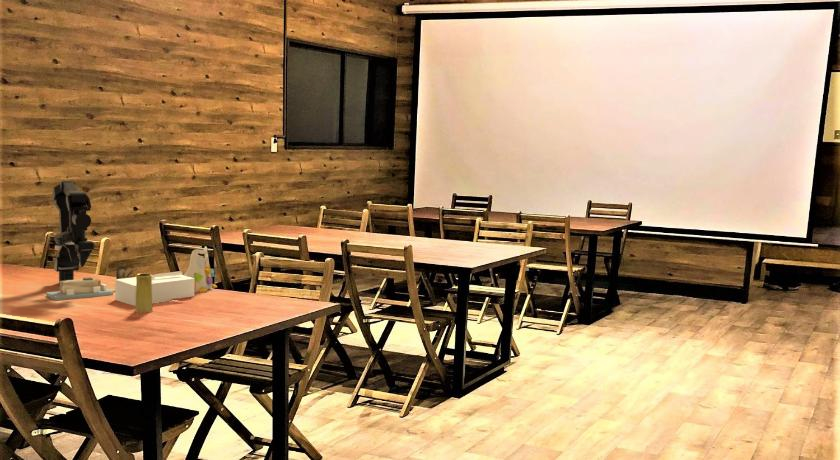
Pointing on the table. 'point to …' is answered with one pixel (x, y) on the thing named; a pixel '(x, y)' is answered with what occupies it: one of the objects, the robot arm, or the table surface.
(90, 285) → the beam with grey square
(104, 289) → the jig
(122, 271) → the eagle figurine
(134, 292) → the tissue box
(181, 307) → the table surface
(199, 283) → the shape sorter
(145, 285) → the vase
